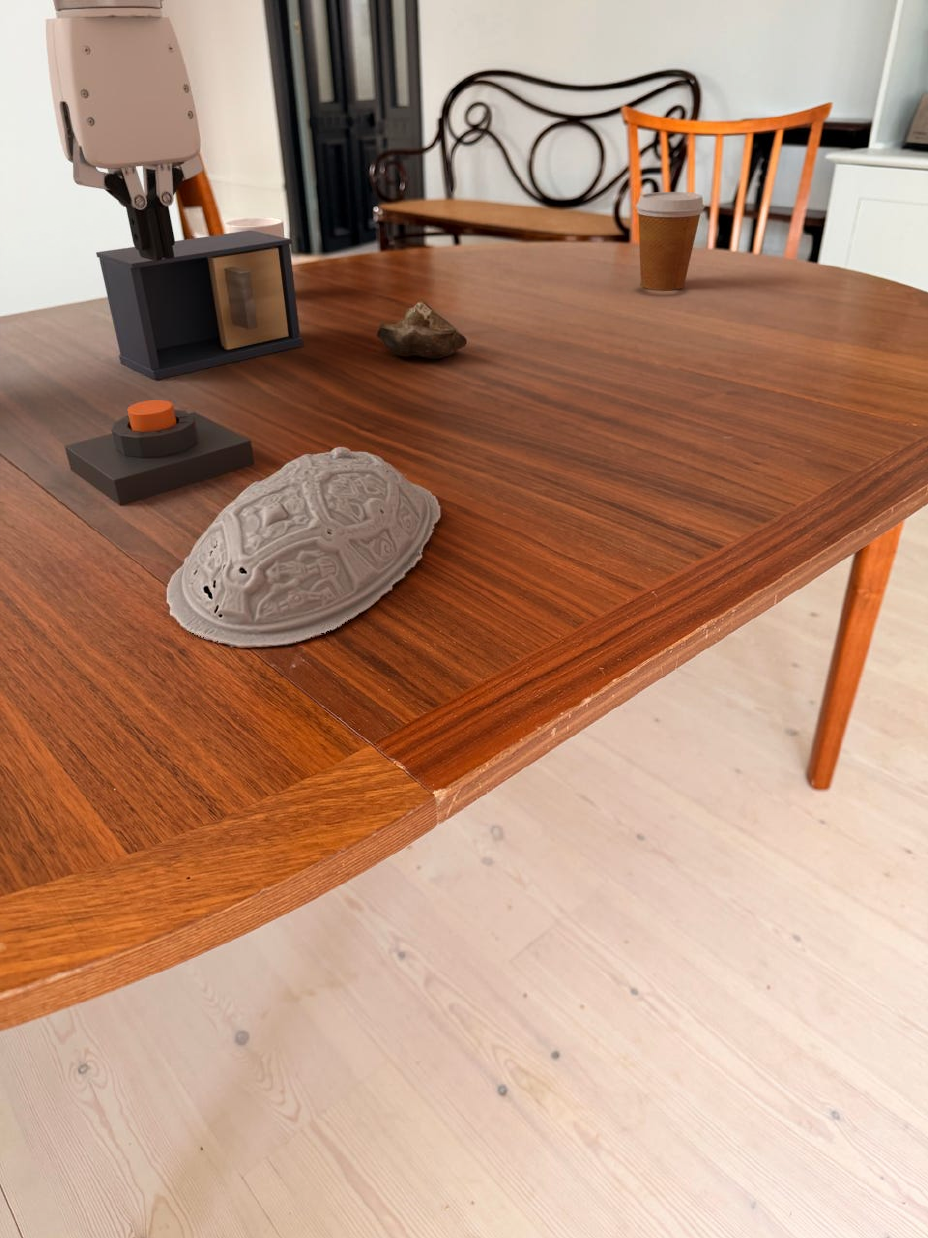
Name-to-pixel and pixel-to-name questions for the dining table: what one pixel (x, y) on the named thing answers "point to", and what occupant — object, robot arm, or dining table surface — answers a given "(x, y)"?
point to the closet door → (249, 297)
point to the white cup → (257, 226)
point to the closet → (185, 305)
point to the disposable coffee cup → (667, 237)
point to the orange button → (151, 415)
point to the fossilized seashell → (421, 334)
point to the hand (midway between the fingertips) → (157, 257)
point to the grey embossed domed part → (303, 551)
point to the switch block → (158, 457)
